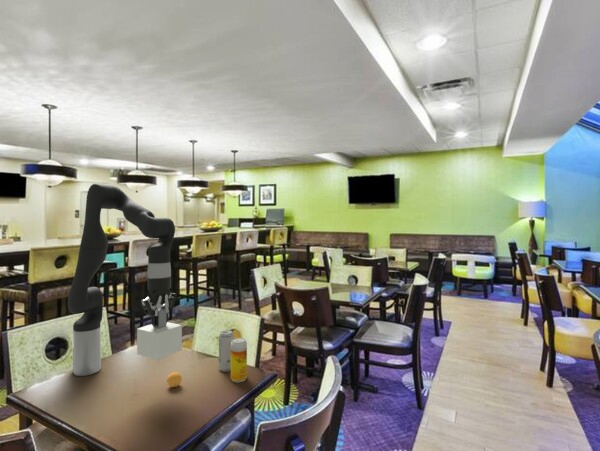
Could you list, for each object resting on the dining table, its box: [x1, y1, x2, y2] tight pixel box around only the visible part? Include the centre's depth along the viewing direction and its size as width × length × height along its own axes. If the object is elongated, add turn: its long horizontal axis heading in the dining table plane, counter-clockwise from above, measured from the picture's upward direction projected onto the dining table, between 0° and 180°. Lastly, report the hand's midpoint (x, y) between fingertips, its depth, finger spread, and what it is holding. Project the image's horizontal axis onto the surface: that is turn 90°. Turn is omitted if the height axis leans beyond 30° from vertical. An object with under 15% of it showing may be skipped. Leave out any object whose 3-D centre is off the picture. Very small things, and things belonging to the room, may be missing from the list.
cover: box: [136, 307, 183, 361], centre depth 119 cm, size 10×10×15 cm
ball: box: [166, 371, 183, 388], centre depth 125 cm, size 5×5×5 cm
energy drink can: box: [218, 329, 235, 373], centre depth 139 cm, size 6×6×15 cm
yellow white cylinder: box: [230, 337, 248, 383], centre depth 130 cm, size 6×6×15 cm
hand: (159, 324), depth 119 cm, fingers closed on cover, 3 cm apart
